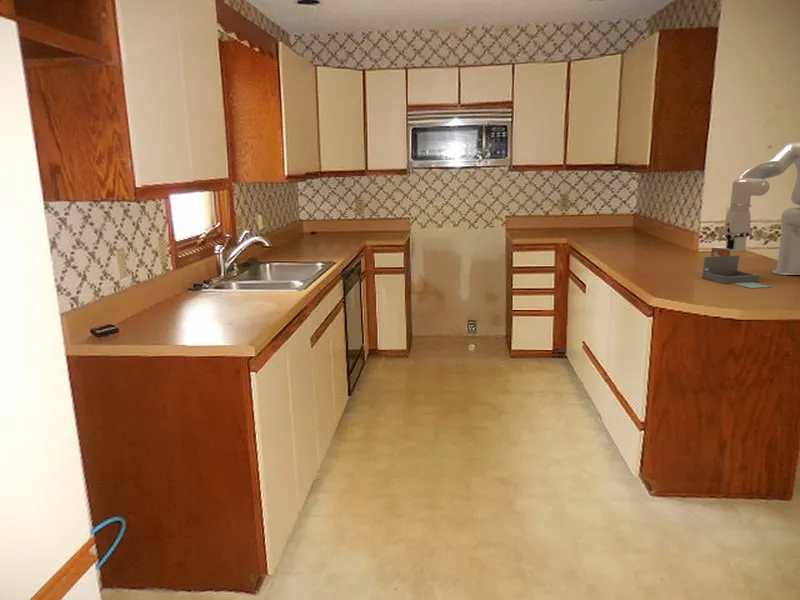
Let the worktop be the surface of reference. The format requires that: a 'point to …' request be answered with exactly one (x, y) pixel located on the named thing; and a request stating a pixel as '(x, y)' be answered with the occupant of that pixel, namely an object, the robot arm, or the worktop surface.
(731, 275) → the grey open box
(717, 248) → the small box
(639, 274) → the worktop surface
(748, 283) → the mat
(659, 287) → the worktop surface
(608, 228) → the worktop surface
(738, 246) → the block
